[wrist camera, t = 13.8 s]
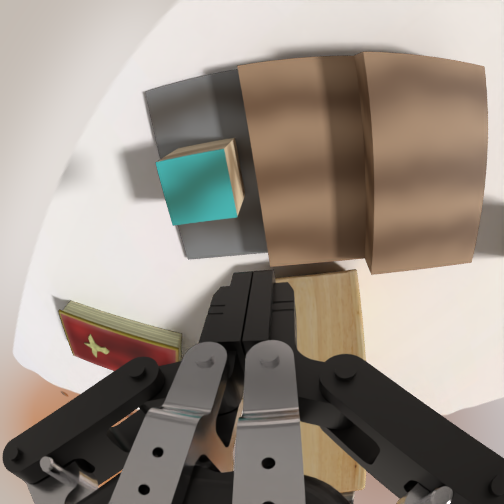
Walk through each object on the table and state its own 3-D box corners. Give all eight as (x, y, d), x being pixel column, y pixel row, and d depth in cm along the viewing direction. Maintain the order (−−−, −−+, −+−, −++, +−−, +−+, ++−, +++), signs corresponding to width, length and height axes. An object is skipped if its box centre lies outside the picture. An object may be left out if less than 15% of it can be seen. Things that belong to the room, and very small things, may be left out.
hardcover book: (183, 374, 49) (177, 392, 46) (82, 342, 49) (73, 357, 46) (185, 330, 43) (177, 351, 40) (69, 296, 43) (57, 312, 39)
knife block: (290, 412, 53) (281, 558, 26) (258, 265, 36) (214, 562, 9) (346, 407, 51) (354, 553, 24) (353, 254, 34) (419, 549, 7)
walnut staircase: (147, 91, 26) (116, 94, 21) (450, 66, 21) (484, 66, 15) (189, 257, 36) (172, 289, 30) (447, 234, 31) (471, 262, 25)
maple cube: (223, 149, 23) (234, 137, 28) (155, 162, 24) (177, 148, 29) (237, 217, 26) (245, 193, 31) (172, 225, 26) (190, 201, 32)
